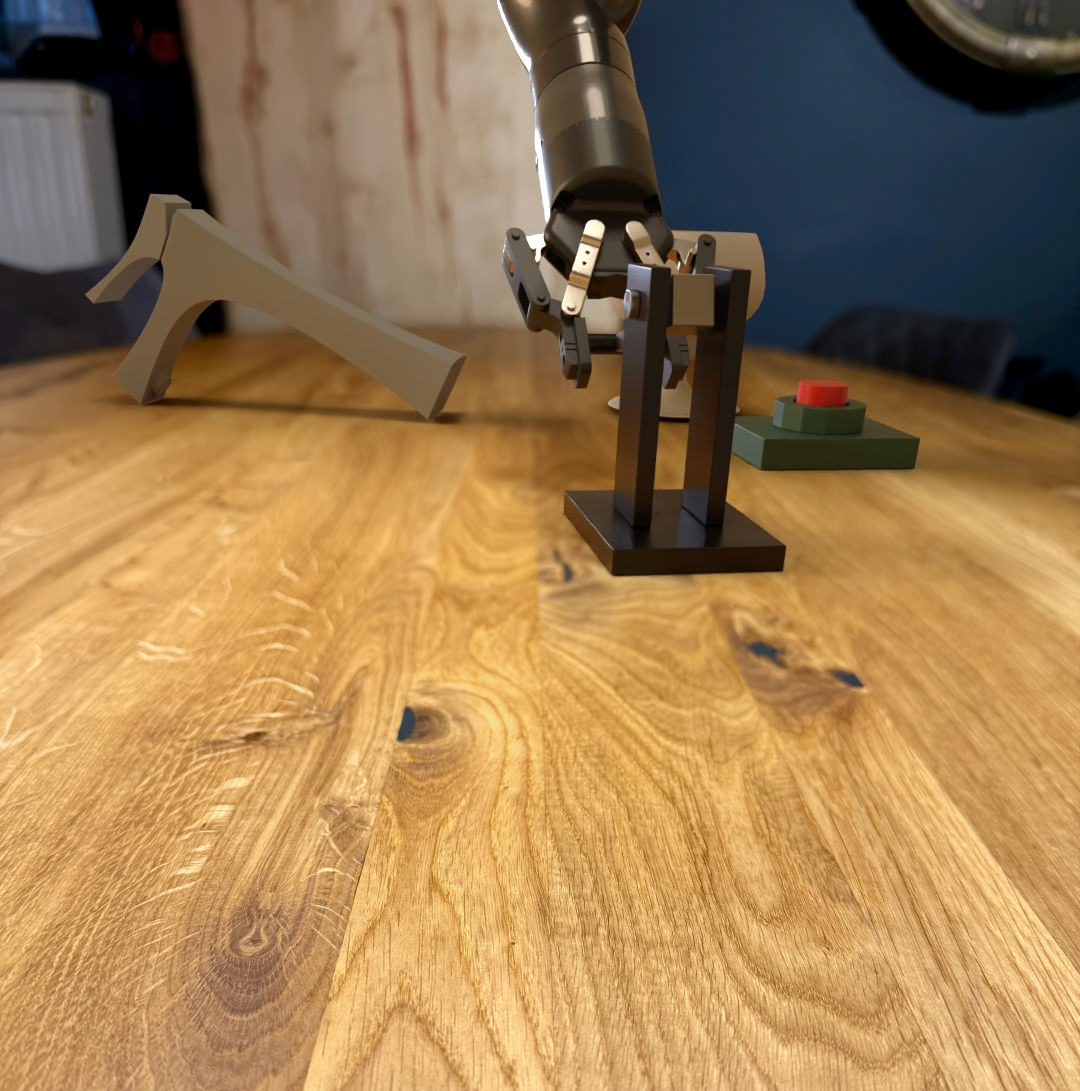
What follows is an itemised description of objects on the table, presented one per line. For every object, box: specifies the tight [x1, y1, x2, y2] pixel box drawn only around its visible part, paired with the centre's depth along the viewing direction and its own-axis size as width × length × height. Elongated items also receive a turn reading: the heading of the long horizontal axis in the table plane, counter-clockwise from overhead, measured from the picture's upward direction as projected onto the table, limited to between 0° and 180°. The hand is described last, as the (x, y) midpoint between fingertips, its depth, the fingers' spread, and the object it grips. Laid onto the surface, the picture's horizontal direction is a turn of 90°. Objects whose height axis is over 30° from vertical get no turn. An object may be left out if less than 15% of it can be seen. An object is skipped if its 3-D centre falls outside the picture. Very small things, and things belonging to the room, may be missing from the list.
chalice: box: [606, 229, 766, 420], centre depth 92 cm, size 14×14×15 cm
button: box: [796, 379, 850, 407], centre depth 77 cm, size 4×4×2 cm
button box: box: [731, 394, 921, 471], centre depth 78 cm, size 12×9×4 cm
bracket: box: [563, 263, 787, 576], centre depth 54 cm, size 12×9×14 cm
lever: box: [587, 274, 715, 356], centre depth 57 cm, size 14×5×2 cm, turn 10°
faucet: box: [84, 193, 468, 421], centre depth 88 cm, size 6×17×30 cm
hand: (629, 379), depth 62 cm, fingers closed on lever, 5 cm apart
